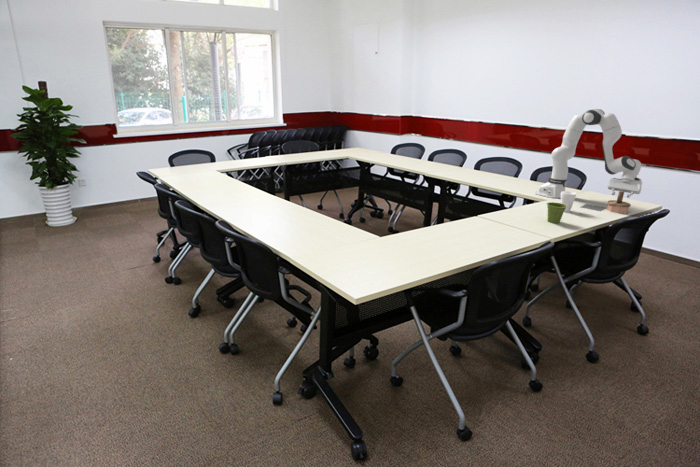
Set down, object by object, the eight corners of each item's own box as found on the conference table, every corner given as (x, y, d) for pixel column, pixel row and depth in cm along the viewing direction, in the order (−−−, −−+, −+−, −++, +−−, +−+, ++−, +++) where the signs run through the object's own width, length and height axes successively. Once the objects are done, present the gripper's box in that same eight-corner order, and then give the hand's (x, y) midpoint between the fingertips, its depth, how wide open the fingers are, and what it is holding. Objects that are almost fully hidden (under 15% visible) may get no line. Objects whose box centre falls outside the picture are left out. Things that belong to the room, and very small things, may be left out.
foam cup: (574, 213, 303) (577, 194, 299) (559, 212, 305) (563, 193, 301) (570, 209, 312) (573, 191, 308) (556, 208, 314) (559, 190, 310)
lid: (604, 204, 310) (607, 191, 307) (610, 200, 319) (613, 188, 316) (627, 208, 301) (630, 195, 298) (632, 204, 310) (635, 192, 307)
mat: (579, 207, 318) (579, 207, 318) (586, 204, 328) (586, 203, 328) (600, 211, 309) (600, 211, 309) (606, 208, 319) (606, 207, 318)
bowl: (605, 211, 312) (606, 204, 310) (610, 208, 320) (611, 201, 318) (624, 214, 304) (625, 207, 302) (629, 211, 312) (630, 204, 310)
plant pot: (549, 224, 277) (552, 207, 273) (540, 219, 288) (543, 202, 284) (567, 224, 278) (571, 207, 274) (557, 219, 289) (560, 202, 285)
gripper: (611, 175, 316) (603, 190, 312) (644, 179, 302) (636, 195, 299) (611, 180, 320) (604, 195, 317) (644, 185, 307) (637, 201, 303)
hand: (620, 195), depth 308 cm, fingers open, 8 cm apart
